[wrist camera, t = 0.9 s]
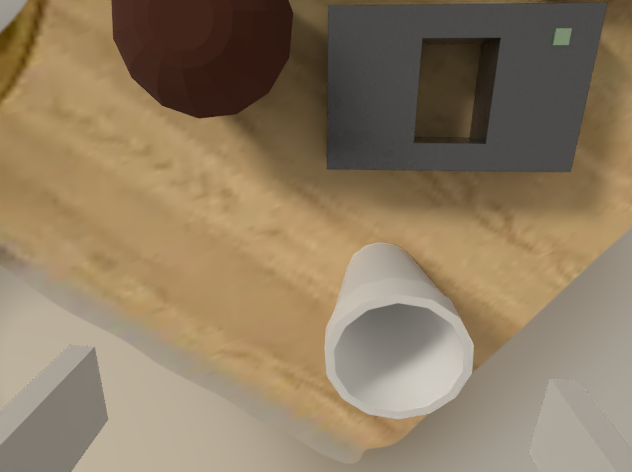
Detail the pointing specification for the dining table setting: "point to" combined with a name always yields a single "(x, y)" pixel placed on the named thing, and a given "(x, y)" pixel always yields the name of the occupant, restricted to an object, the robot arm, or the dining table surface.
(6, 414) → the robot arm
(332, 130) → the switch box
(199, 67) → the muffin
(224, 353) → the dining table surface
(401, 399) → the foam cup
